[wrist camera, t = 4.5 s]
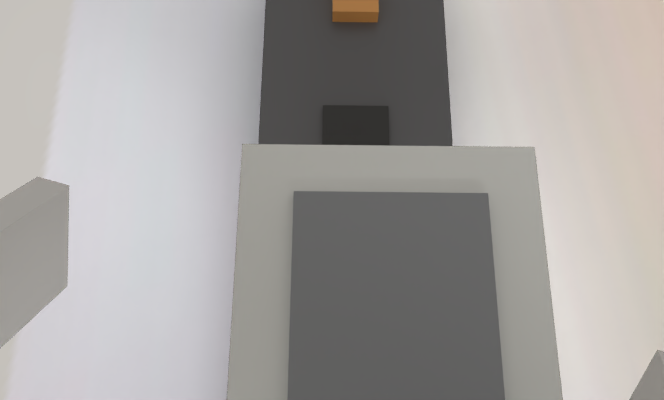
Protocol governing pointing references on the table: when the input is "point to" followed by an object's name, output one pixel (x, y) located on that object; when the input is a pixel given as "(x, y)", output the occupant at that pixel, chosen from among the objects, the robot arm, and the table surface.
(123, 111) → the table surface
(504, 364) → the block
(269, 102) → the power strip
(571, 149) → the table surface
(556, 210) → the table surface
